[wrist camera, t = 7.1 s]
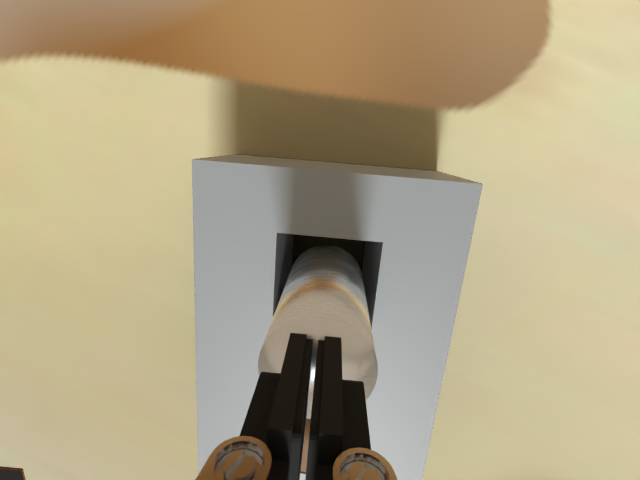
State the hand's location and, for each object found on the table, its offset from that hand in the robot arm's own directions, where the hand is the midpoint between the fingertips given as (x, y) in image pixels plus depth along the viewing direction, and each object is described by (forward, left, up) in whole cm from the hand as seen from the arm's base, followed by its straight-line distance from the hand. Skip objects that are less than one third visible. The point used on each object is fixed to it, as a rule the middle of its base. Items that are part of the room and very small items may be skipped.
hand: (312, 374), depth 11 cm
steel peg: (0, 0, -8) cm, 8 cm away
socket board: (0, +5, -15) cm, 16 cm away
